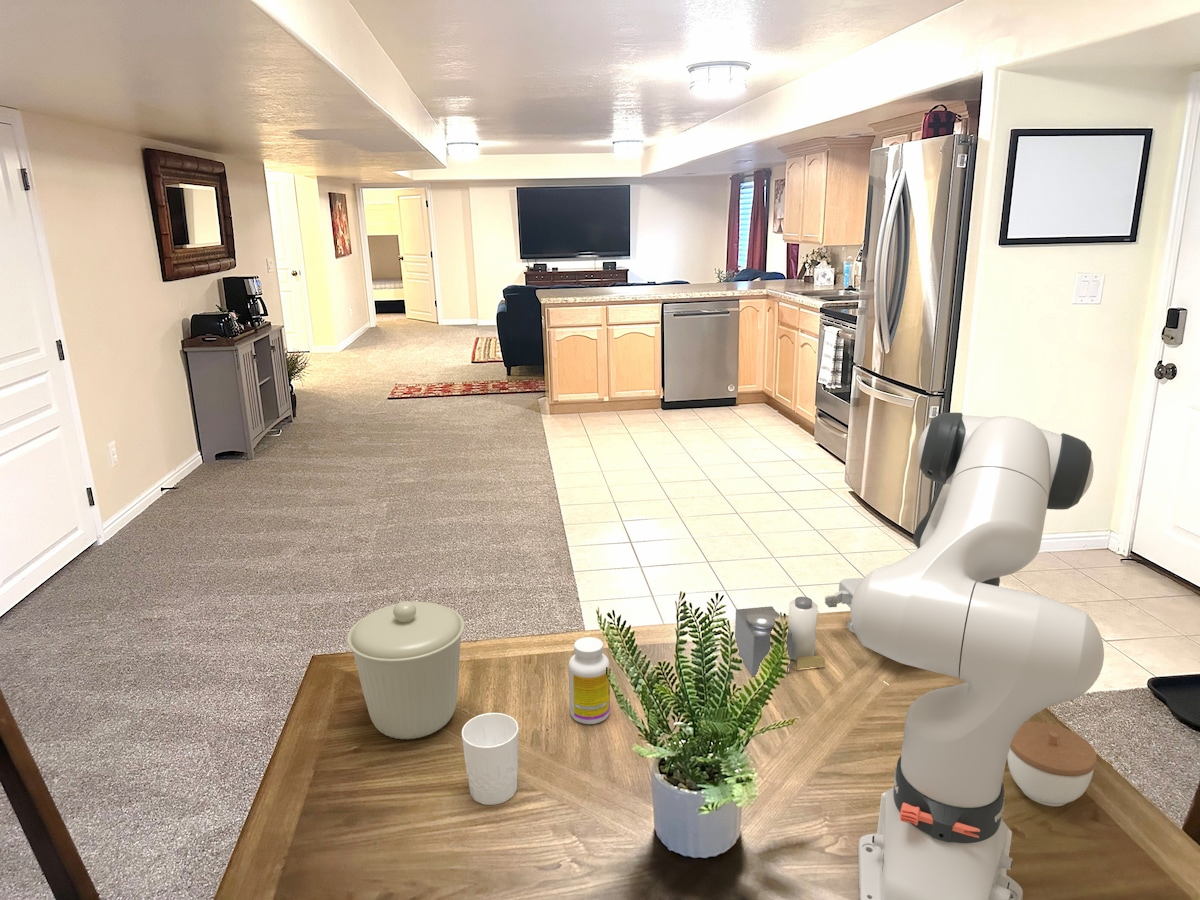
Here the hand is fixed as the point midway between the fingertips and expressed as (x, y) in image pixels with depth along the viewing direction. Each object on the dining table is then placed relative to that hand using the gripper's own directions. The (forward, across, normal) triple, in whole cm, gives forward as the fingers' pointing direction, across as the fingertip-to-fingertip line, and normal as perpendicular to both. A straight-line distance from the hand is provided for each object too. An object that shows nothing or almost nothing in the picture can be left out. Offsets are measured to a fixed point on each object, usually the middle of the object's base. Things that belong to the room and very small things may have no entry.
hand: (837, 613), depth 147 cm
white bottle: (+7, 0, +8) cm, 10 cm away
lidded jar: (-13, +40, +8) cm, 43 cm away
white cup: (+64, +26, +8) cm, 69 cm away
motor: (+11, -1, +8) cm, 14 cm away
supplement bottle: (+48, +11, +8) cm, 49 cm away
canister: (+76, +7, +8) cm, 77 cm away
